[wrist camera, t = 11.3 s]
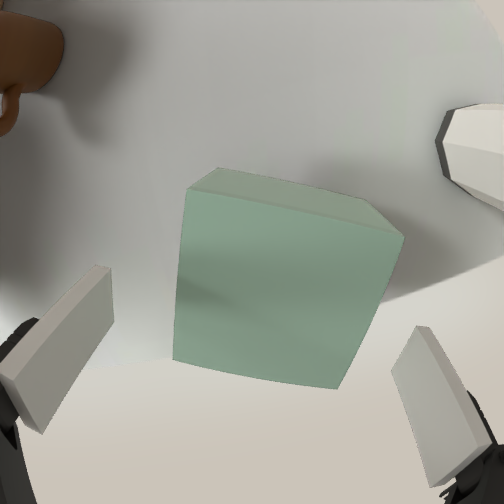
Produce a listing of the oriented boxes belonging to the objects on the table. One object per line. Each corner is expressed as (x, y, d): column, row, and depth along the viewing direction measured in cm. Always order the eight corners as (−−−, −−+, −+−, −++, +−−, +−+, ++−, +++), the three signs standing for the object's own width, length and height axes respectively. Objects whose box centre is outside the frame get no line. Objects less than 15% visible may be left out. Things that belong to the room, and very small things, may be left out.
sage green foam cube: (199, 297, 21) (172, 359, 15) (218, 167, 18) (187, 189, 12) (325, 322, 21) (337, 389, 15) (365, 200, 18) (405, 237, 12)
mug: (77, 114, 22) (2, 120, 13) (26, 143, 23) (-43, 160, 14) (64, 10, 17) (0, -10, 9) (14, 47, 19) (-49, 42, 10)
